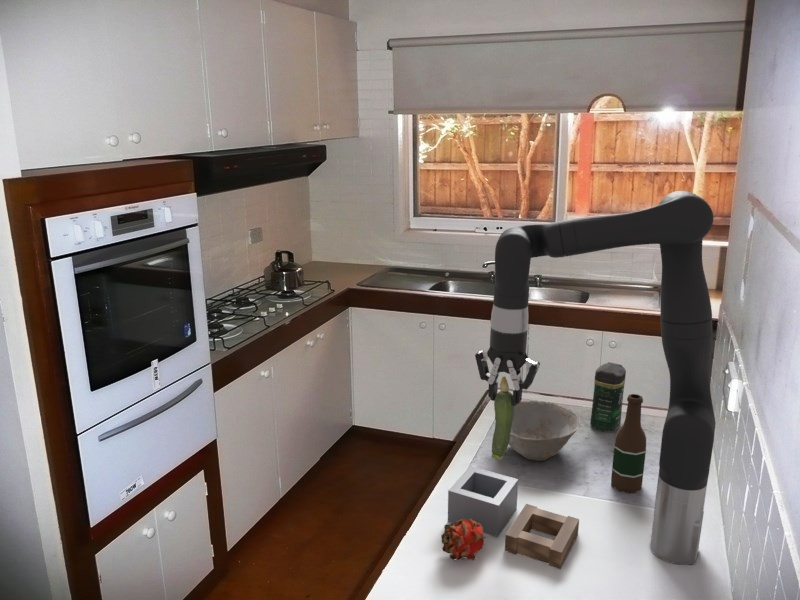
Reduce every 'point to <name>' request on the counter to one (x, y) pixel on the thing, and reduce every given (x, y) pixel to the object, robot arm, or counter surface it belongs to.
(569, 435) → the ceramic bowl
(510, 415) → the vegetable
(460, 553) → the dragon fruit
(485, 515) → the holder
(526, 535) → the board
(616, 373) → the coffee jar
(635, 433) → the beer bottle
